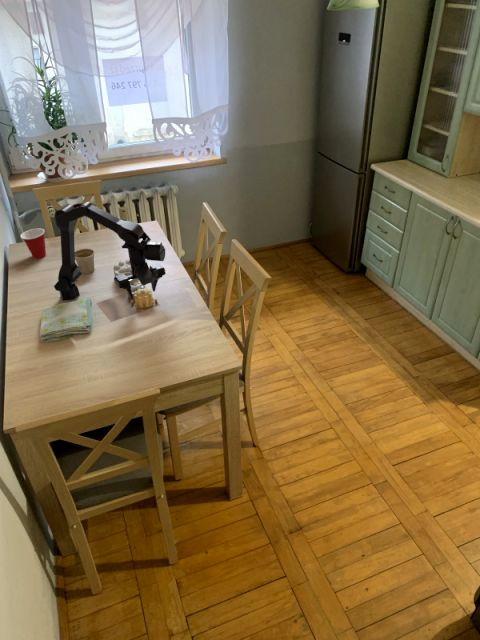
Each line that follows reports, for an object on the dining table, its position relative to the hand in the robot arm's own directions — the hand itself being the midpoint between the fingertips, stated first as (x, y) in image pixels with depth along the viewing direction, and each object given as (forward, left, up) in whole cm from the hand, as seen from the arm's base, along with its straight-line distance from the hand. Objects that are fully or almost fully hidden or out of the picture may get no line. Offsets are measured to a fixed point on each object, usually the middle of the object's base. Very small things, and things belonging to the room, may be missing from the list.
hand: (143, 294), depth 180 cm
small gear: (+4, +13, -5) cm, 14 cm away
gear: (0, +8, -4) cm, 9 cm away
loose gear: (0, 0, -4) cm, 4 cm away
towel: (-29, +5, -6) cm, 30 cm away
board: (-5, +3, -5) cm, 8 cm away
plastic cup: (-22, +70, -5) cm, 74 cm away
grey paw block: (+3, +23, -6) cm, 23 cm away
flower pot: (-8, +42, -5) cm, 44 cm away
